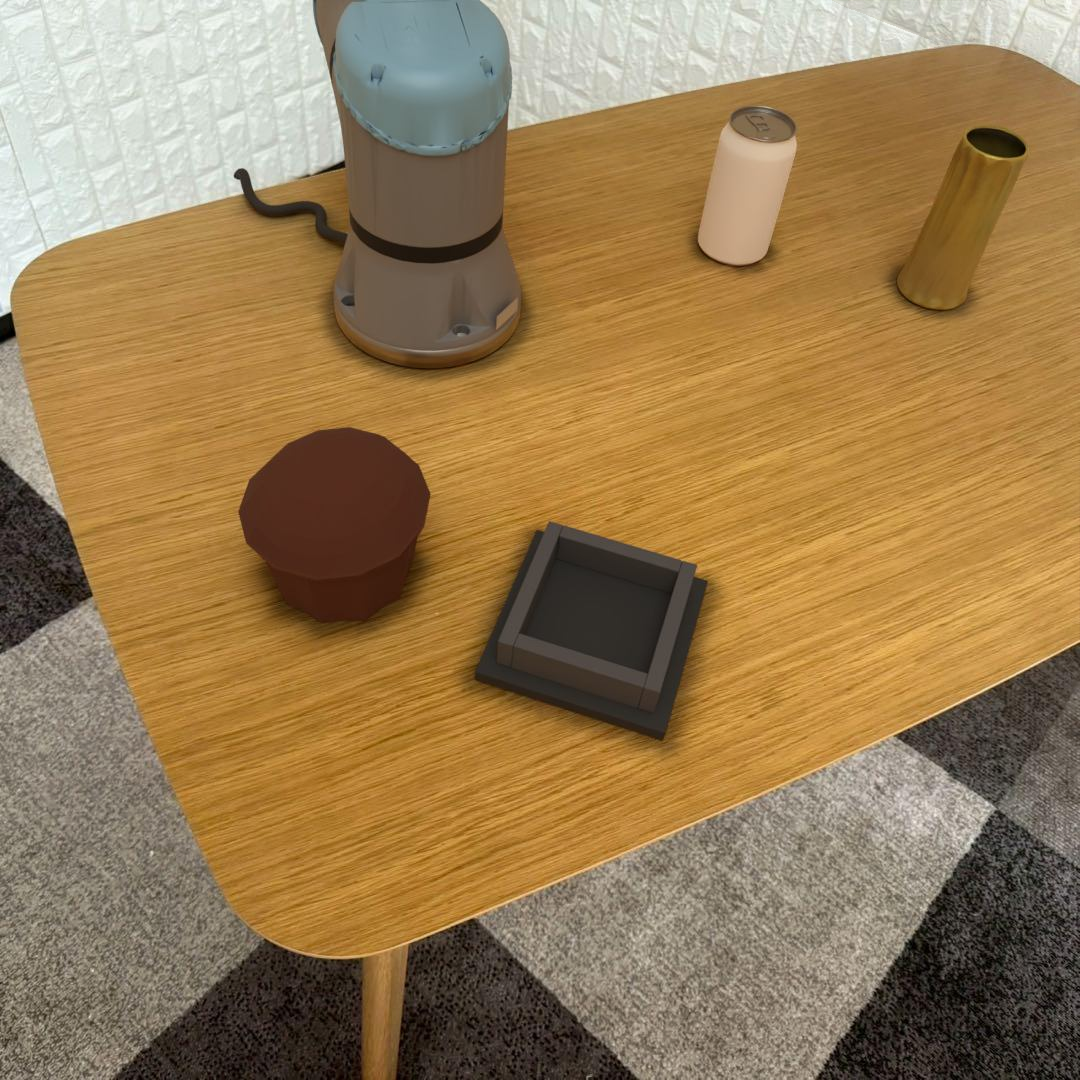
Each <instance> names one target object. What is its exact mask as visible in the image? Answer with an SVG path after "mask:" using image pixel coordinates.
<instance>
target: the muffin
mask: <svg viewBox="0 0 1080 1080" xmlns="http://www.w3.org/2000/svg"><path fill="white" fill-rule="evenodd" d="M431 495H432V494H431V492H430V488H429V487H428V484H427V482H426V479H425V477H424V475H423V472H422V469H421V466H420V465H419V464H418V463H417V462H416V461H414V460H413V459H412V457H410V456H409V455H408V454H407V453H406V452H405V451H403V450H402V449H401V448H399V447H398V446H397V445H396V444H394V442H392V441H391V440H390V439H388V438H387V437H385V435H382V434H378V433H375V432H371V431H367V430H363V429H358V428H355V427H351V426H348V427H337V428H328V429H327V428H326V429H316V430H314V431H313V432H311V433H308V434H305V435H303V436H301V437H299V438H297V439H294V440H292V441H290V442H288V443H286V444H285V445H284V446H283V447H282V448H281V449H280V450H278V452H277V453H275V454H274V455H273V456H272V457H271V458H270V459H269V460H268V461H266V463H265V464H264V465H262V467H260V469H259V470H258V471H257V472H256V473H254V474H253V475H252V476H251V478H249V479H248V482H247V486H246V488H245V491H244V494H243V497H242V499H241V501H240V502H241V503H240V505H239V508H238V511H237V513H238V516H239V521H240V524H241V528H242V532H243V536H244V539H245V543H246V545H247V546H248V547H249V548H251V549H252V550H253V551H254V552H255V553H256V554H257V555H258V556H259V557H260V558H262V560H264V562H265V563H266V565H267V567H268V570H269V571H270V573H271V576H272V578H273V579H274V581H275V584H276V586H277V588H278V590H279V592H280V594H281V596H282V598H283V600H284V602H285V604H286V605H288V606H290V607H291V608H293V609H297V610H299V611H302V612H304V613H306V614H307V615H309V616H310V617H312V618H313V619H314V620H316V621H318V622H319V623H320V624H327V623H333V622H342V621H357V622H358V621H360V622H364V621H365V622H366V621H367V620H369V619H370V618H371V617H372V616H374V615H375V614H376V613H378V612H379V611H380V610H381V609H383V608H385V607H387V606H388V605H390V604H392V603H394V602H396V601H397V600H399V599H401V597H402V594H403V593H402V592H403V589H404V584H405V581H406V579H407V576H408V574H409V573H410V570H411V568H412V566H413V562H414V557H415V553H416V547H417V542H418V538H419V535H420V534H421V533H422V532H423V529H424V527H425V525H426V519H427V515H428V509H429V504H430V501H431Z"/></svg>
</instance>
